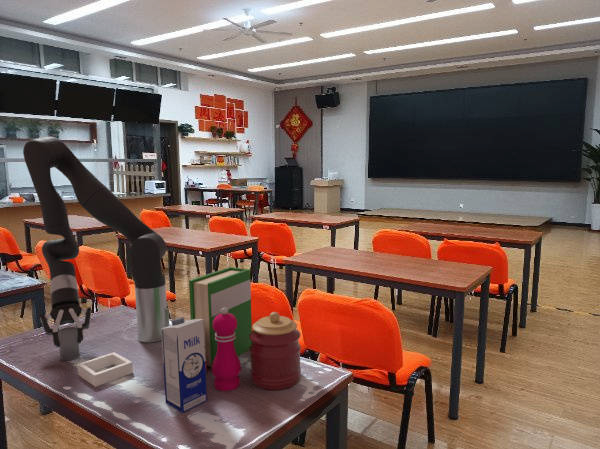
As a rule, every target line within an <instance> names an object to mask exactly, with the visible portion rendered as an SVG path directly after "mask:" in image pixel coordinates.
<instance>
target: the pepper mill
mask: <svg viewBox="0 0 600 449" xmlns="http://www.w3.org/2000/svg"><path fill="white" fill-rule="evenodd" d="M236 328H237V320H236V318H235V316H234V315H232V314H230V313H228V309H227V308H222V309H221V314H219V315H217V316H216V317H215V318H214V320H213V330H214V331H215V332H216V333H215V340H216V341H217V354H216V356H215V359H214V361H213V364H212V371H211V373H212V375H213V376H214V380H213V381H214V383H213V384H214V389H216V390H218V391H220V392H221V391H222V392H229V391H234V390H236V389H237V388H239V386H240V383H241V381H240V380H241V379H240V373H241V371H242V364H241V361H240V360H241V359H240V357H239V356H237V354H236V351H235V348H234V339H235V338H236V336H235V334H236V333H235V332H234V331H235V329H236Z"/></svg>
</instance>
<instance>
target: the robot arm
mask: <svg viewBox="0 0 600 449" xmlns="http://www.w3.org/2000/svg"><path fill="white" fill-rule="evenodd" d="M22 150H23V151H22V152H23V154H22V155H23V158H24V162H25V165H26V167H27V171H28V173H29V176H30V178H31V182H32V185H33V188H34V189H35V193H36V195H37V198H38V202H39V206H40V209H41V214H42V221H43V226H44V227H43V228H44V231H45V232H46V233H47V234H48V235H52V236H53V235H54V236H55V235H57V236H62V237H63V238H59V239H49V240H47V241H44V243H43V245H42V247H41V252H42V255H43V258H44V259H45V262H46V263H47V266H48V269H49V276H50V285H49V286H50V287H49V288H50V289H49V290H50V291H49V293H50V302H51V303H50V305H51V306H50V307H51V310H50V312H49V313H47V314H45V313H42V314H40V316H39V317H40V318H39V319H40V323H41V324H42V327H43V330H44V332H45V335H47V336H52V339H53V340H52V342H53V345H54V347H55V346H56V348H59V338H58V331H59V330H61V329H62V328H61V327H62V326H64V325H68V324H73V325H74V326H73V327H76V328H77V330H78V343H79V344H81V343H82V342H83V340H84V333H83V332H84V330H87V329H89V328H90V323H91V322H90V321H91V317H92V308H91V307H87V308H82V306H81V305H80V296H79V287H78V285H79V284H78V282H77V276H76V267H75V264H74V263H73V262H71V261H69V260H73V259H74V260H75V259H76V258H78V255H79V254H80V247H79V244H78V242H77V240H76V238H75V236H74V234H73V232H72V229H71V226H70V221H69V215H68V209H67V205H66V203H65V201H64V199H63V198H62V196H61V195H60V194H59V192H58V191H57V190H56V188H55V185H54V184H53V180H52V177H51V169H52V168H55V169H57V170H58V171H59V172H60V173H62V175H63V176H64V177H66V178H67V180H68V181H69V183H70V185H71V186H72V189H73V192H74V195H75V197H76V200H77V202H78V203H79V205H80V206H81V207H82V208H83V209H84V210H86V212H87V213H88V214H90V216H92V217H93V218H94V219H95V220H97V221H98V222H100V223H101V224H103V225H105V226H107V227H108V228H110V229H113V230H115V231H116V232H118V233H119V234H121V235H122V236H123V237H124V238H125V239H126V240H128V242H130V243H131V245H130V248H129V261H130V269H131V270H130V271H131V277H132V280H133V282H134V294H135V295H134V297H135V310H136V324H137V326H136V327H137V339H138V341H139V342H142V343H157V342H162V332H161V328H165V327H168V326H170V315H169V314H170V312H169V308H168V304H167V288H166V287H167V286H166V276H165V274H163V271H162V262H161V261H162V260H161V259H162V258H163V257H165V255H166V253H167V243H166V242H165V240H164V238H163V237H162V236H161V235H159V233H157V232H156V231H155V230H154V229H152V228H150V227H149V226H148V225H147V224H145V223H144V222H143V221H141V220H140V219H139V218H138V217H137V216H136V215H135V214H134V213H133V212H132V211H131V210H130V209H129V207H128V206H126V205H125V204H124V203H123V202H122V201H121V200H120V198H118V196H116V194H114V192H112V191H111V190H110V188H108V187H107V186H106V185H104V183H102V182H101V181H100V180H99V179H98V178H97V177H96V176H95V175H94V174H93V173H92V172H91V171H90V170H89V169H88V168H87V167H86V166H85V165H84V164H83V162H81V160H79V158H78V157H77V156H76V155H75V154H74V152H72V150H71V149H70V148H69V147H68V145H67V144H65V142H64V141H62V139H59V138H57V137H54V136H45V137H40V138H34V139H31V140H28V141H27V142H26V143H25V144H24V145H23V149H22ZM81 314H83V316H84V317H85V318H84V323H82V322H81V321H80V319H79V317H80V315H81ZM50 319H52V320H53V321H55V322H54V326H53V328H51V327H50V325H49V322H50Z"/></svg>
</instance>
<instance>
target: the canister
mask: <svg viewBox="0 0 600 449" xmlns="http://www.w3.org/2000/svg"><path fill="white" fill-rule="evenodd" d="M297 326H298V324H297V322H295V321H294V320H292V319H291V318H289V317H287V316H283V315H280V314H279V313H278V312H276V311H272V312H270V314H269V316H263V317H262V318H260V319H258V320H257V321H256V322H254V323H252V332H251V333H250V335H249V338H250V340H251V346H250V349H249V351H250V352H249V354H250V370H249V375H250V379H251V383H252V384H253V385H254V386H255V387H257V388H259V389H263V390H270V391H279V390H285V389H289V388H291V387H294V386H295V385H297V384H298V383H299V381H300V379H301V375H302V366H301V349H302V346H301V344H300V342H299V339H300V338H301V332H300V331H299V329H297Z"/></svg>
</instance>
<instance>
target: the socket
mask: <svg viewBox="0 0 600 449" xmlns="http://www.w3.org/2000/svg"><path fill="white" fill-rule="evenodd" d="M113 365H114V366H113ZM110 366H113V367H110ZM107 367H109V368H107ZM133 367H134V366H133V361H131V360H129V359H127V358H126V357H124V356H122V355H120V354H118V353H116V352H114V351H113V352H111V353H108V354H105V355H101V356H98V357H95V358H93V359H90V360H85V361H84V362H80V363H77V373H78V376H79V377H80V378H82V379H83V380H85V381H86V382H88V383H89V384H90V385H92V386H93V387H95V388H96V387H99V386H101V385H104V384H106V383H110V382H112V381H115V380H119V379H120V378H123V377H126V376H129V375H131V374H133V372H134V370H133ZM105 368H107V369H105ZM102 369H104V370H102ZM99 370H101V371H99ZM96 371H99V372H96Z"/></svg>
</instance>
